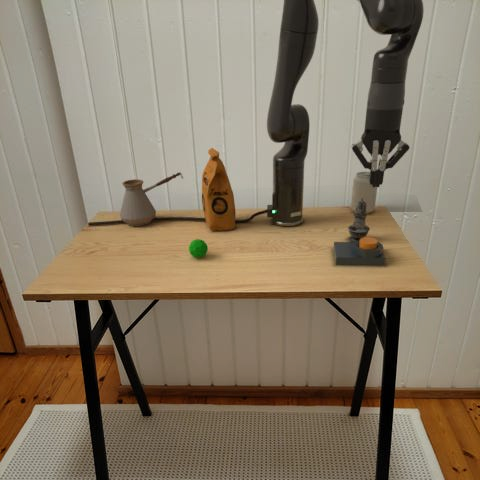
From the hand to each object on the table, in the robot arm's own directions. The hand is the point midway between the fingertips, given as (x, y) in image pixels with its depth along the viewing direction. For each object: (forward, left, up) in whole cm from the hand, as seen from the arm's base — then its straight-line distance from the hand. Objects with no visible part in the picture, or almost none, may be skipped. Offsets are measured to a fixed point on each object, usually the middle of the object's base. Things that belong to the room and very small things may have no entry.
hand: (375, 186), depth 107 cm
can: (+3, +38, -19) cm, 42 cm away
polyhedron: (-44, +1, -19) cm, 48 cm away
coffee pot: (-64, +28, -19) cm, 72 cm away
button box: (-2, +2, -19) cm, 19 cm away
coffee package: (-42, +25, -19) cm, 52 cm away
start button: (0, 0, -15) cm, 15 cm away
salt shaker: (-1, +13, -19) cm, 23 cm away
